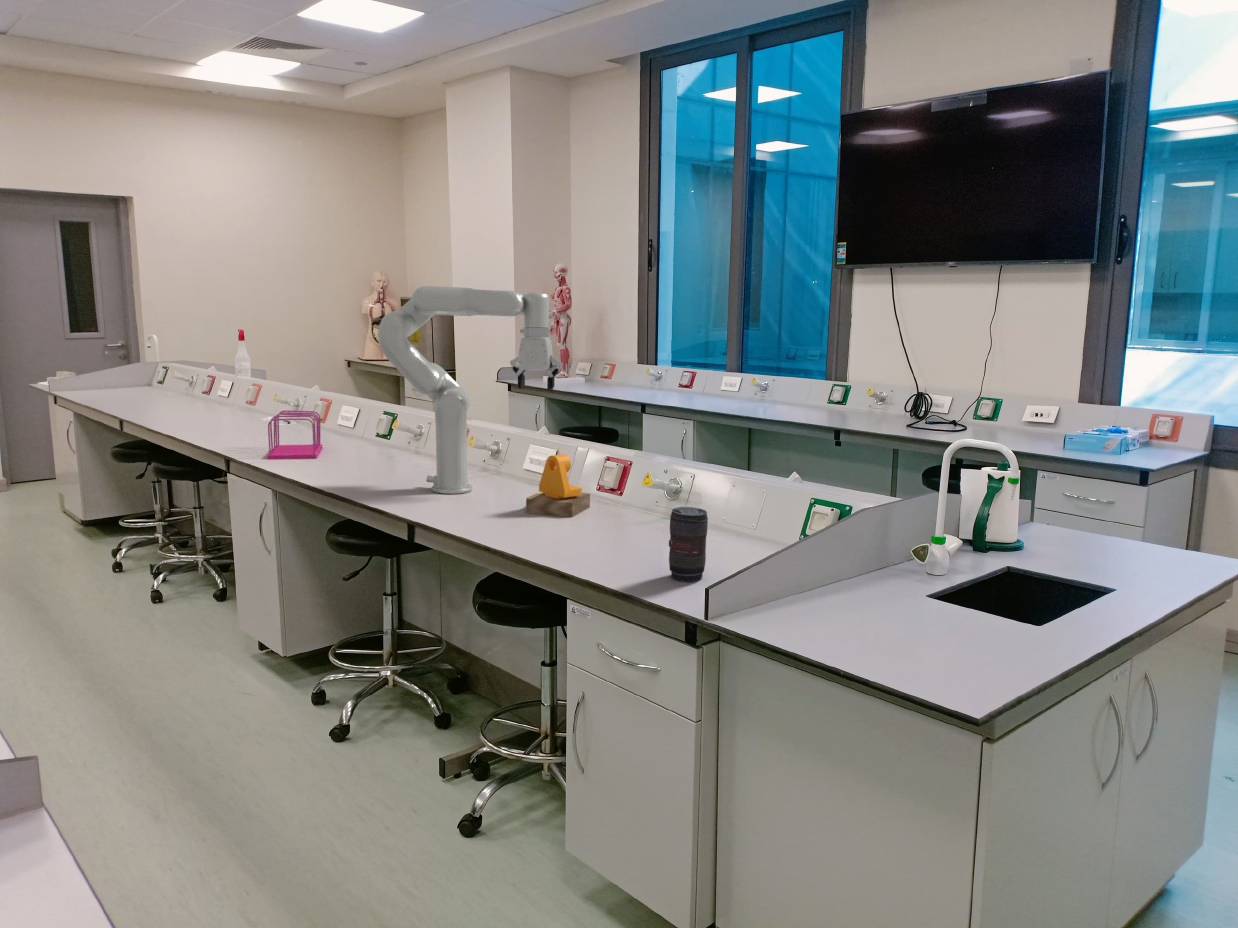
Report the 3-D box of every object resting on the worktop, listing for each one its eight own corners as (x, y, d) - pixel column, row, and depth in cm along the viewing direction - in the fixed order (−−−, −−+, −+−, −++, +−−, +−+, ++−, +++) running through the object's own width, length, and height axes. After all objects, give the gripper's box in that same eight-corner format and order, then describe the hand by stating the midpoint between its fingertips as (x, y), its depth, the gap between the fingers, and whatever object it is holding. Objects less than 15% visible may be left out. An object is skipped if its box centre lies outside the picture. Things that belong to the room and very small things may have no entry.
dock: (526, 512, 255) (526, 497, 254) (545, 502, 268) (545, 489, 268) (572, 517, 251) (572, 502, 250) (589, 507, 264) (590, 493, 263)
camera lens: (675, 584, 191) (678, 515, 189) (663, 573, 199) (665, 507, 196) (711, 582, 193) (713, 513, 191) (697, 571, 201) (699, 505, 198)
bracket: (583, 497, 258) (584, 456, 256) (564, 500, 253) (565, 458, 251) (557, 491, 265) (558, 450, 263) (538, 494, 260) (539, 453, 258)
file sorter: (322, 448, 360) (321, 409, 357) (316, 459, 336) (315, 417, 333) (276, 449, 356) (274, 409, 353) (267, 459, 332) (265, 417, 329)
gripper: (505, 332, 276) (505, 388, 279) (557, 334, 271) (557, 391, 274) (515, 332, 283) (515, 387, 286) (567, 334, 278) (566, 389, 281)
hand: (535, 389), depth 280 cm, fingers open, 9 cm apart
